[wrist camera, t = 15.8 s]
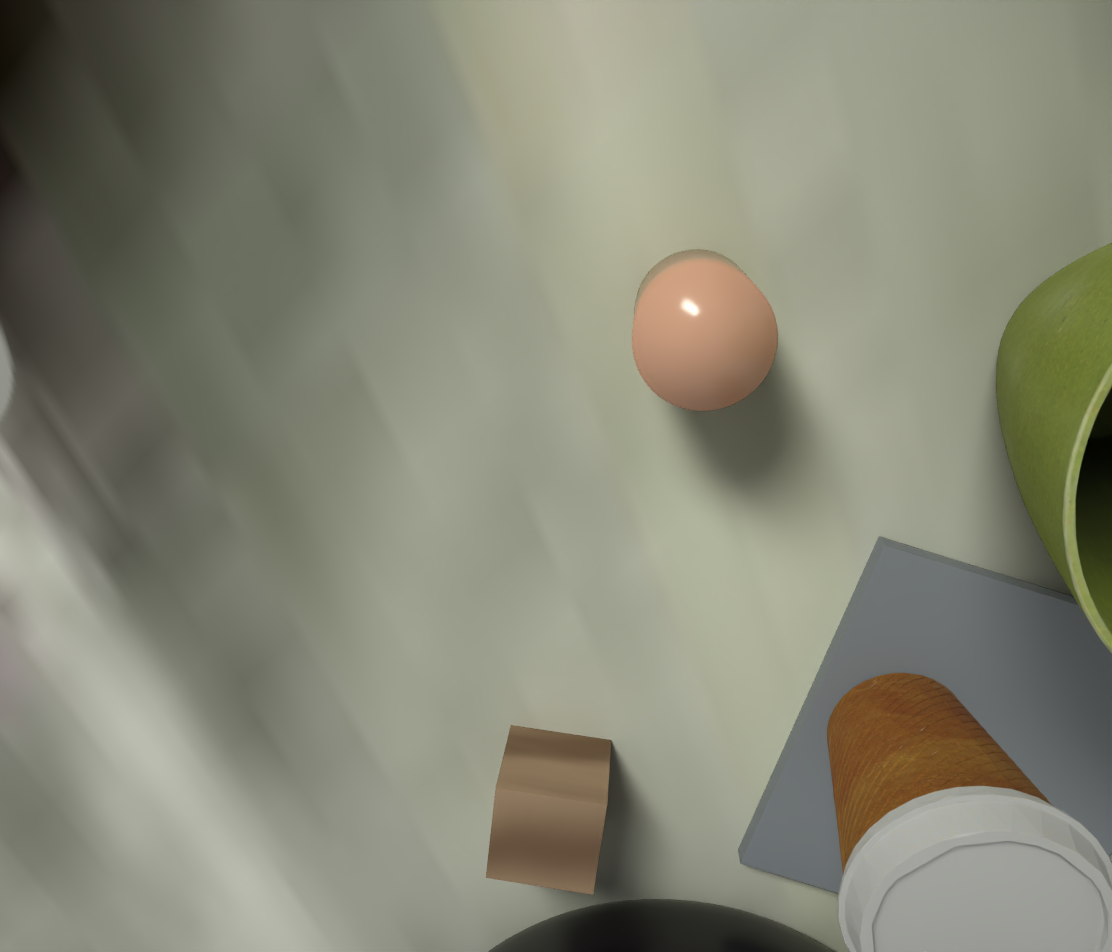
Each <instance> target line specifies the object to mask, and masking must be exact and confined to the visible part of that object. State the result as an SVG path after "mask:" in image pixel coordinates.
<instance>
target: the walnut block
mask: <svg viewBox="0 0 1112 952" xmlns="http://www.w3.org/2000/svg"><path fill="white" fill-rule="evenodd" d="M610 753H611V740H606V739H600V738H593V737H586V736H580V735H573V734H566V733H560V732H553V731H546V730H540V729H533V728H526V727H520V726H513V725H511V727H510V731H509V735H508V740H507V744H506V748H505V752H504V756H503V760H502V764H501V768H500V773H499V777H498V781H497V785H496V790H495V800H494V809H493V818H492V827H491V836H490V845H489V854H488V863H487V872H486V878H492V879H498V880H504V881H510V882H517V883H523V884H529V885H535V886H542V887H548V888H554V889H560V890H567V891H573V892H579V893H585V894H592V895H593V892H594V886H595V879H596V873H597V867H598V860H599V854H600V848H601V841H602V835H603V829H604V822H605V816H606V810H607V801H608V785H609V769H610Z"/></svg>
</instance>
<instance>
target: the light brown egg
mask: <svg viewBox="0 0 1112 952" xmlns="http://www.w3.org/2000/svg"><path fill="white" fill-rule="evenodd" d="M777 344H778V331H777V324H776V319H775V316H774V313H773V311H772V308H771V306H770V304H769V302H768V301H767V299H766V298H765V296H764V295H763V294H762V292H761V291H760V290H759V289H758V288H757V287H756V285H755V284H754V283H753V282H752V281H751V280H750V279H749V278H748V276H747V275H746V274H745V273H744V272H743V271H742V270H741V269H740V268H739V267H738V266H737V265H736V264H735V263H734V262H733V261H731V260H730V259H728V258H727V257H725V256H723V255H721V254H718V253H716V252H712V251H708V250H700V249H696V250H686V251H681V252H678V253H675V254H673V255H670V256H668V257H666V258H665V259H663V260H662V261H660V262H659V263H658V264H656V265H655V266H654V267H653V268H652V269H651V270H650V271H649V272H648V274H647V275H646V277H645V278H644V280H643V281H642V283H641V285H640V287H639V290H638V292H637V296H636V300H635V308H634V322H633V336H632V348H633V354H634V359H635V362H636V366H637V368H638V370H639V373H640V374H641V376H642V378H643V379H644V381H645V382H646V384H647V385H648V386H649V387H650V389H651V390H653V391H654V392H655V393H656V394H657V395H658V396H659V397H661V398H662V399H664V400H665V401H667V402H669V403H671V404H673V405H675V406H678V407H680V408H684V409H688V410H696V411H710V410H717V409H721V408H725V407H728V406H730V405H733V404H735V403H737V402H739V401H741V400H742V399H744V398H745V397H747V396H748V395H749V394H751V393H752V392H753V391H754V390H755V389H756V388H757V387H758V386H759V385H760V384H761V382H762V381H763V380H764V379H765V377H766V375H767V374H768V372H769V370H770V368H771V366H772V364H773V361H774V358H775V355H776V350H777Z"/></svg>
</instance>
